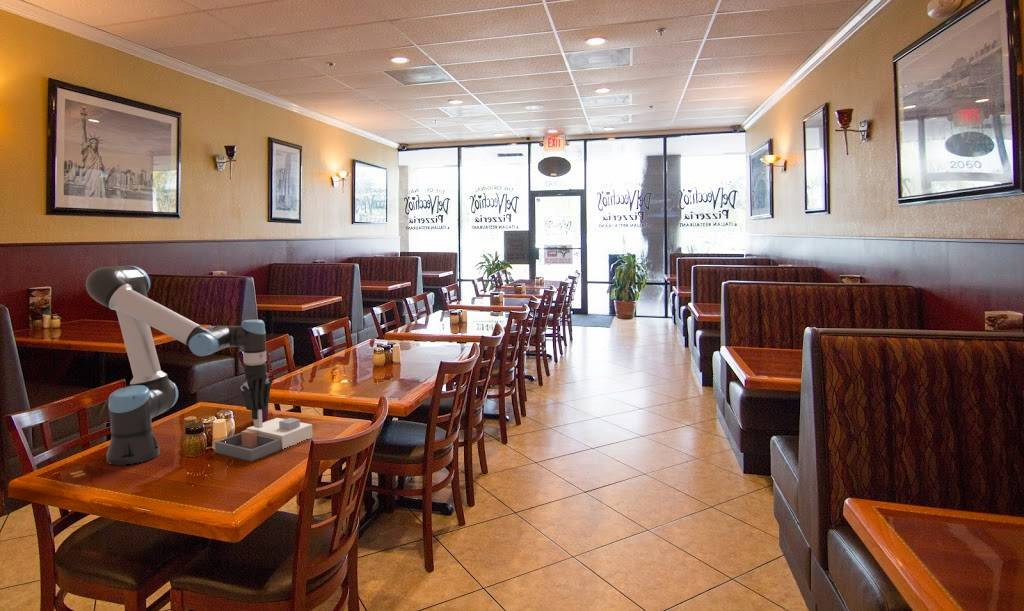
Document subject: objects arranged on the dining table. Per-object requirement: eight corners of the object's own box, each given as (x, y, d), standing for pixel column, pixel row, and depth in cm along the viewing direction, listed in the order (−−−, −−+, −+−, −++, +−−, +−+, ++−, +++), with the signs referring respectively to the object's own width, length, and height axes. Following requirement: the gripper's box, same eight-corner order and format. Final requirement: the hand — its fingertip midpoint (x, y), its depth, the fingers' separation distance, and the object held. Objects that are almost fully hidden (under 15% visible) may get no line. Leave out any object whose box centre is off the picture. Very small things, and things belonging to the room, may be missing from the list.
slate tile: (279, 428, 213) (279, 421, 213) (290, 424, 218) (289, 417, 218) (289, 430, 211) (289, 423, 211) (299, 426, 216) (299, 419, 215)
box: (215, 453, 202) (214, 442, 202) (244, 442, 213) (244, 431, 212) (251, 462, 194) (251, 450, 194) (280, 450, 205) (280, 439, 204)
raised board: (247, 441, 214) (246, 428, 213) (277, 430, 226) (277, 417, 226) (282, 449, 206) (282, 435, 205) (312, 437, 218) (312, 424, 218)
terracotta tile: (247, 442, 211) (241, 445, 209) (247, 429, 210) (241, 431, 208) (257, 445, 209) (251, 447, 206) (256, 431, 208) (250, 433, 206)
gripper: (247, 367, 201) (250, 434, 204) (277, 360, 213) (280, 423, 216) (232, 365, 205) (235, 430, 208) (262, 358, 216) (265, 420, 219)
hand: (258, 427), depth 212 cm, fingers closed
